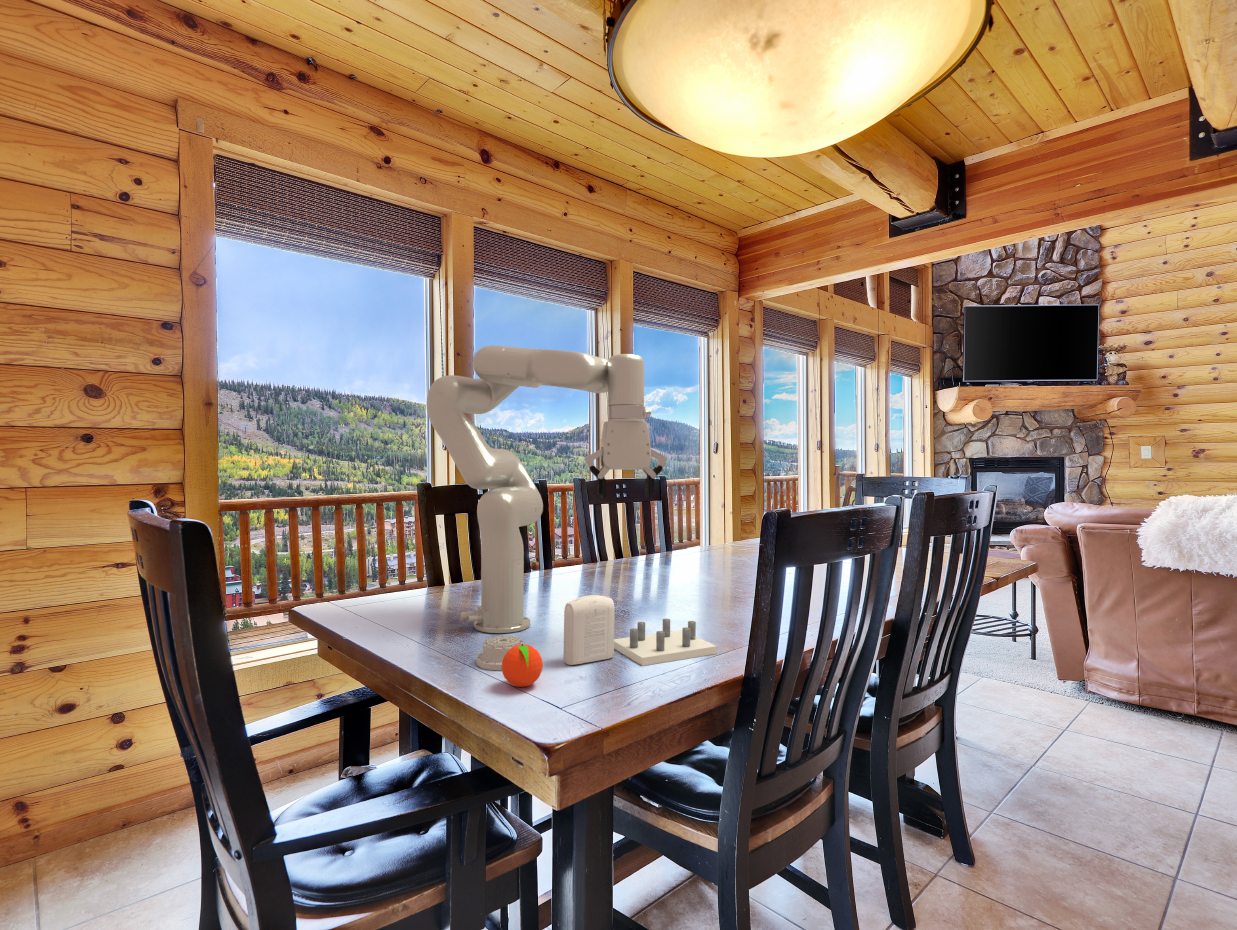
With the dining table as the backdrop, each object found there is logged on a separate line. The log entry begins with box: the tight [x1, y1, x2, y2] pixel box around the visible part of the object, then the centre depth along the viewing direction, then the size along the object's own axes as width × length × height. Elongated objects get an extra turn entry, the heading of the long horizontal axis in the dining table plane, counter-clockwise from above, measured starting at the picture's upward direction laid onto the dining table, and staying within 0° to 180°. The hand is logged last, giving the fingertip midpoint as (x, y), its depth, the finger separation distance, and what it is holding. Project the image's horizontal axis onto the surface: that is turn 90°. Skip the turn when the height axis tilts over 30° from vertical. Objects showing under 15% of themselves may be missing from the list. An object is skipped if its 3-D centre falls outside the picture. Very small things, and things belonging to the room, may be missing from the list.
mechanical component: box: [476, 635, 524, 671], centre depth 122 cm, size 10×4×10 cm
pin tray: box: [614, 618, 718, 667], centre depth 130 cm, size 17×13×5 cm
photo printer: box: [563, 594, 616, 666], centre depth 124 cm, size 10×4×12 cm, turn 124°
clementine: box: [501, 643, 544, 688], centre depth 110 cm, size 8×7×7 cm
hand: (625, 497), depth 134 cm, fingers open, 9 cm apart
